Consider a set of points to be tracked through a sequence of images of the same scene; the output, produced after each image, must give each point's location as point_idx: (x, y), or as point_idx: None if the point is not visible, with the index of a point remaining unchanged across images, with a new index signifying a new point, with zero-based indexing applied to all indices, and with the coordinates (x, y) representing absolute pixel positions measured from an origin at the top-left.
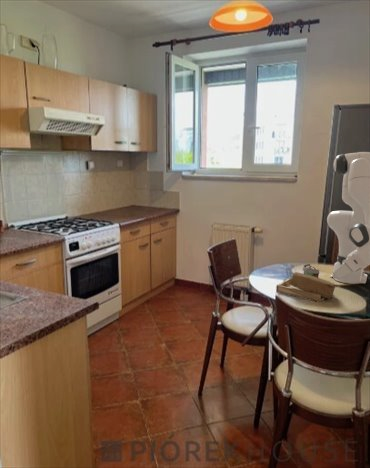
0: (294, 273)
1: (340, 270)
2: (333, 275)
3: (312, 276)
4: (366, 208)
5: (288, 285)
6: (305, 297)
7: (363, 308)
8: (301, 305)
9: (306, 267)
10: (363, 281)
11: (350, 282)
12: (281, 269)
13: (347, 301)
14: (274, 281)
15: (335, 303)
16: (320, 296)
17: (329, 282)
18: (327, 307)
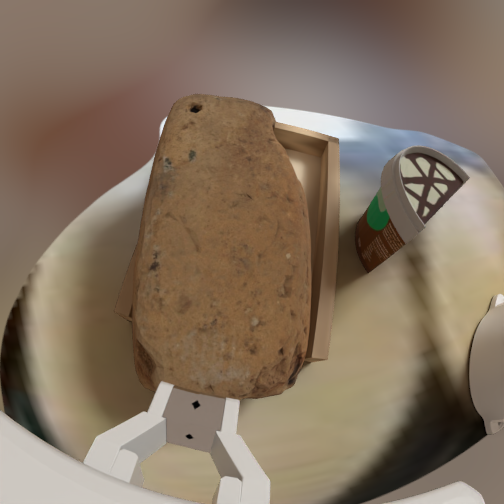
0: (191, 96)
1: None
2: (156, 395)
3: (268, 203)
4: None
5: (290, 153)
6: None
7: None
8: (68, 244)
9: (425, 164)
10: (492, 430)
11: (475, 394)
12: (440, 139)
13: None
14: (320, 117)
15: (149, 404)
16: (125, 316)
17: (220, 355)
18: (77, 362)
